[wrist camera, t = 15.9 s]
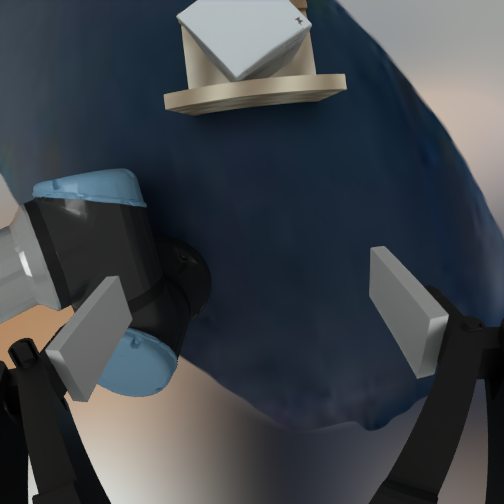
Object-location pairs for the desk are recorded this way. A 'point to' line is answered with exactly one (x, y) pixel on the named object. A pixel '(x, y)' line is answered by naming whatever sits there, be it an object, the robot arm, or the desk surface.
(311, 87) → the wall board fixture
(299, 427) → the desk surface
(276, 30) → the supplement box
